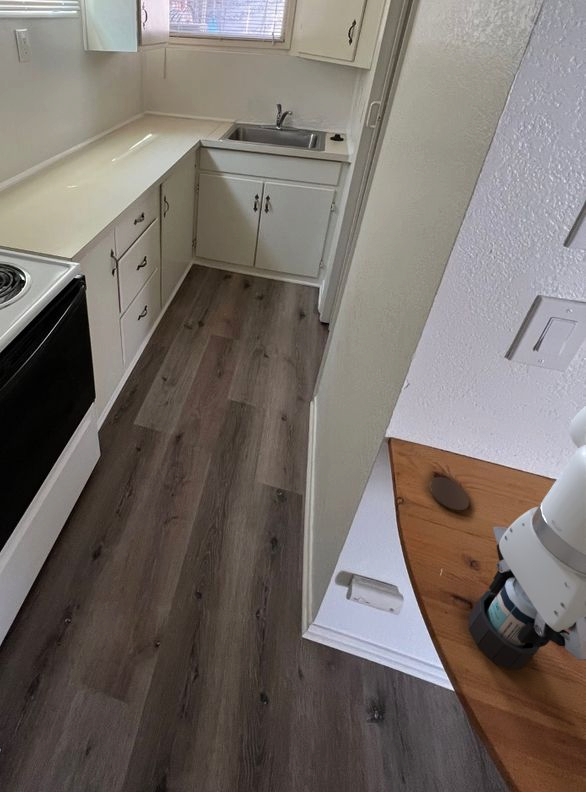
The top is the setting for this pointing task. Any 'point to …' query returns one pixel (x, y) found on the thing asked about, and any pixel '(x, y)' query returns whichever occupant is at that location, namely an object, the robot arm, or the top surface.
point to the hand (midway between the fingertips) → (515, 613)
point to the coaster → (449, 494)
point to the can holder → (496, 638)
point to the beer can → (511, 612)
